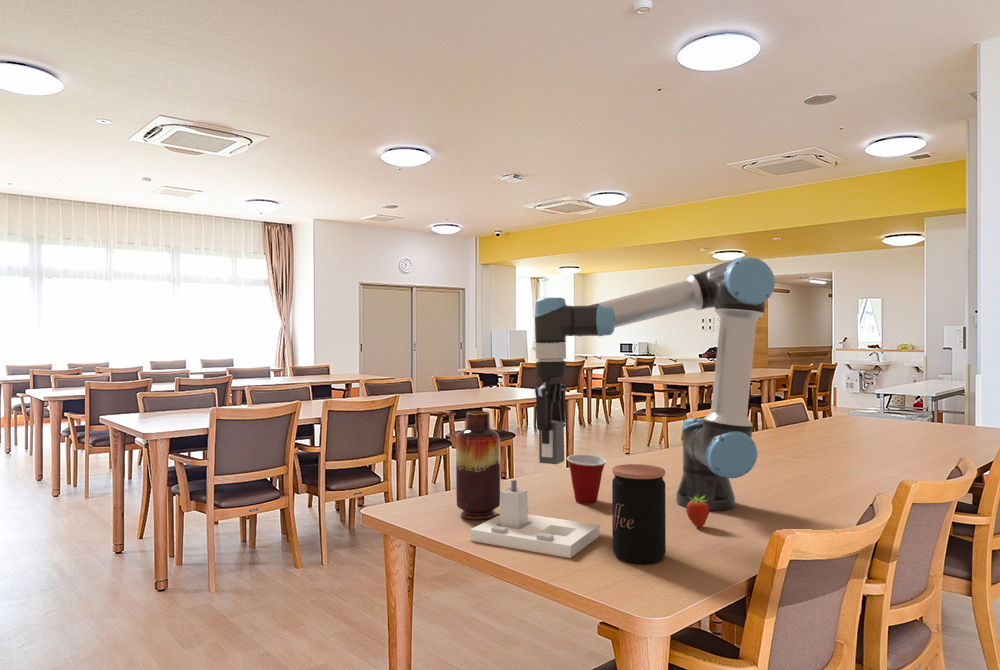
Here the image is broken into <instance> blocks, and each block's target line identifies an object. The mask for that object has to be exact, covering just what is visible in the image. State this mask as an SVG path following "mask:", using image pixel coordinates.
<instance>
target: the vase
mask: <svg viewBox="0 0 1000 670" xmlns="http://www.w3.org/2000/svg"><path fill="white" fill-rule="evenodd" d="M465 417H466V423H465V425H466V426H465V428H464V429H463V430H461V431H460V432H459V433H458V434H457V435H456V440H455V442H456V445H455V449H456V450H455V452H456V453H455V454H456V455H455V458H456V459H455V460H456V461H455V463H456V467H455V468H456V469H455V471H456V476H455V477H456V484H455V485H456V487H455V488H456V491H455V492H456V506H457V508H458V509H460V510H461V512H460V517H461V518H462V519H465V520H470V521H488V520H490V519H492V518H494V517H496V516H497V513H496V511H495V509H498V508H500V492H501V439H500V437H501V436H500V435H499V432H497V431H496V430H494V429H492V428H491V426H490V425H491V423H490V418H491V417H490V412H489V411H484V410H483V411H482V410H475V411H472V410H471V411H467V412H466V416H465Z"/></svg>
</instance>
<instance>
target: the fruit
mask: <svg viewBox="0 0 1000 670" xmlns="http://www.w3.org/2000/svg"><path fill="white" fill-rule="evenodd" d="M704 497H705V495H704V496H702V497H701V498H698V494H697V497H696V496H694V498H695V499H694V498H690V497H689V498H690V499H692V500H691V501H690V502H689V503H688V504H687V507H685V511H686V515H687V517H688V519H689V520H690V522H691V523H692V524H693V525H694V526H695V527H697V528H702V527H704V525H705V524H706V522H707V520H708V516H709V514H710V510H709V506H708V504H707V503H706V502H705V501H707V500H702V499H703V498H704Z"/></svg>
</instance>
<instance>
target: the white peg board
mask: <svg viewBox="0 0 1000 670" xmlns="http://www.w3.org/2000/svg"><path fill="white" fill-rule="evenodd" d="M510 483H511V484H510V485H511V486H510V487H508V488H506V489H504V490H502V491H501V490H500V505H499V508H500V509H499V511H500V514H499V515H496V516H495V517H494V518H491V519H487V520H485V522H483V523H481V524H480V523H479V524H478V525H476V526H474V527H471V529H469V531H470V533H469V534H470V535H469V536H470V537H469V538H470V542H477V543H482V544H487V545H491V546H492V545H493V546H499V547H505V548H511V549H516V550H522V551H527V552H534V553H540V554H546V555H551V556H557V557H561V558H563V557H564V558H569V559H571V558H572V557H574V556H575V555H577V554H578V553H579V552H580V551H582V550H583V549H584V548H586V547H588V545H590V544H591V543H592V542H594V541H595V540H596V539H598V538H599V537H600V536H601V529H600V528H601V524H596V523H589V522H584V521H583V522H582V521H576V520H569V519H568V520H567V519H562V518H555V517H549V516H541V515H535V514H528V501H529V500H528V497H529V496H528V489H524V488H523V489H521V488H517V480H516V479H511V481H510Z"/></svg>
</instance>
